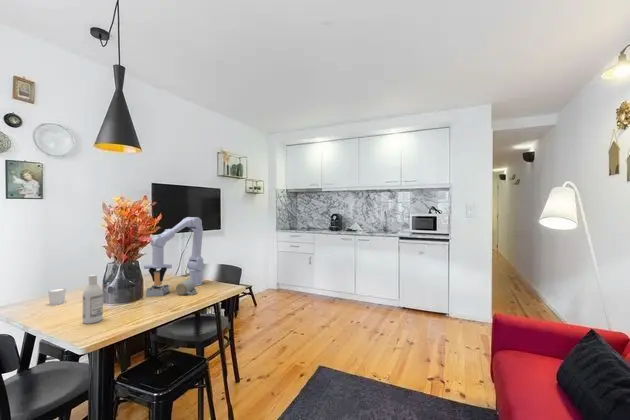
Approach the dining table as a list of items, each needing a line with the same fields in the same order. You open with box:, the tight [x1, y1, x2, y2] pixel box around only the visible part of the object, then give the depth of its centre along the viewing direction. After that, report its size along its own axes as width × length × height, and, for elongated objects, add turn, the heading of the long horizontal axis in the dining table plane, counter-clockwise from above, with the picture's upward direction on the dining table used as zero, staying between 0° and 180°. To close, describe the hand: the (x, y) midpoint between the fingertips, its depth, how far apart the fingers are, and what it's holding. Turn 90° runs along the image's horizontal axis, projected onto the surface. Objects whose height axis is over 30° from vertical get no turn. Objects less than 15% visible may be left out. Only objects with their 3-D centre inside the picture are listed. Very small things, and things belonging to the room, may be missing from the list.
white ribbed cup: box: [48, 287, 67, 306], centre depth 150 cm, size 7×7×7 cm
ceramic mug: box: [175, 278, 198, 296], centre depth 168 cm, size 11×8×8 cm
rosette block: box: [145, 284, 170, 297], centre depth 168 cm, size 9×9×4 cm
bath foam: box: [82, 274, 104, 325], centre depth 127 cm, size 7×7×20 cm
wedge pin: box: [153, 269, 163, 286], centre depth 168 cm, size 4×4×8 cm
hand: (157, 281), depth 168 cm, fingers closed on wedge pin, 3 cm apart
